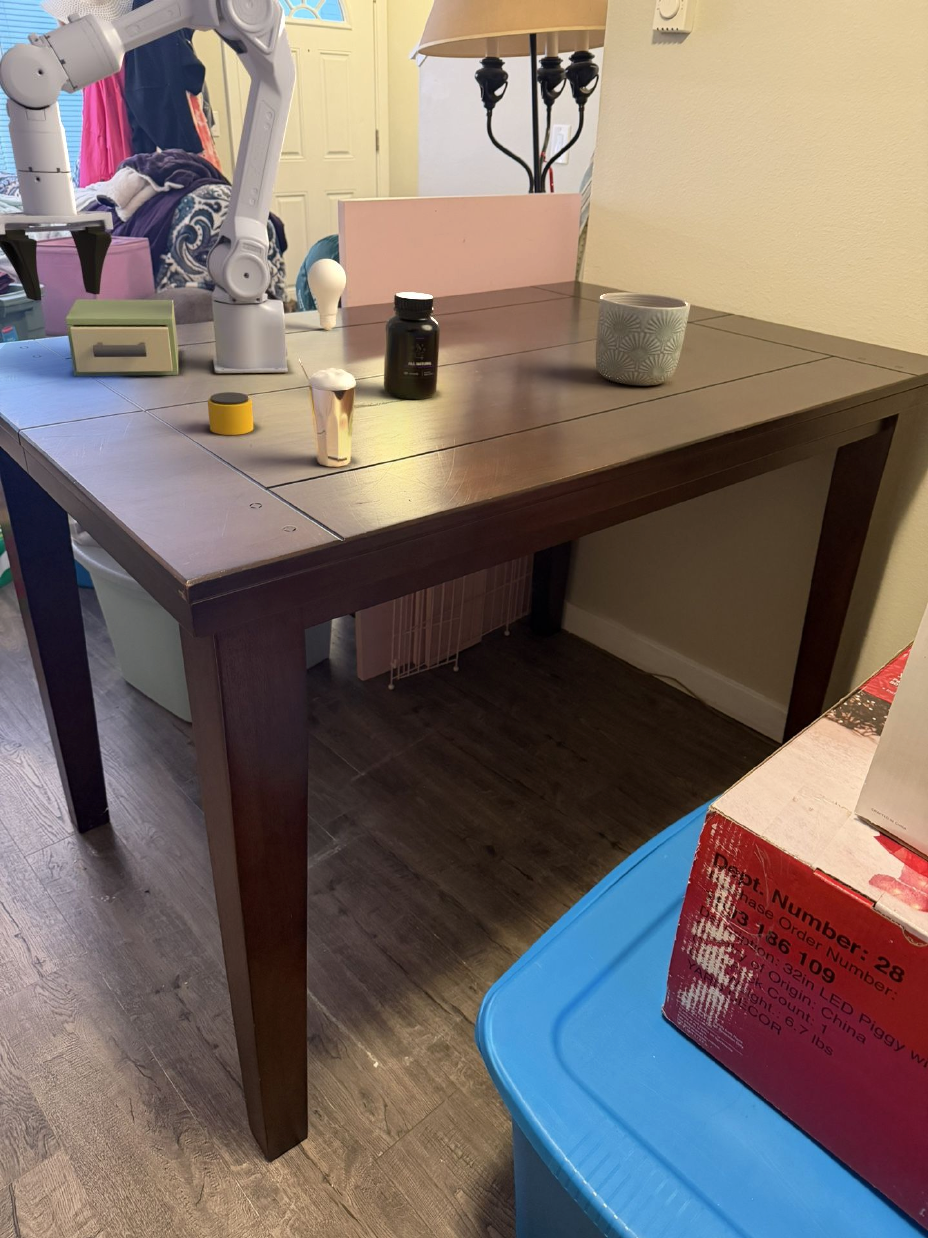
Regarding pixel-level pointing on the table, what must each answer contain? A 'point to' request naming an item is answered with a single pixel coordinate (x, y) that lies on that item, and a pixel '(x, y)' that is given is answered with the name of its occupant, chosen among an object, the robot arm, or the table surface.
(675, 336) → the planter
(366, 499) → the table surface
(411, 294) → the supplement bottle
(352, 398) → the milkshake
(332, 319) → the lightbulb
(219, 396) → the cap
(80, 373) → the cabinet
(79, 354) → the drawer
